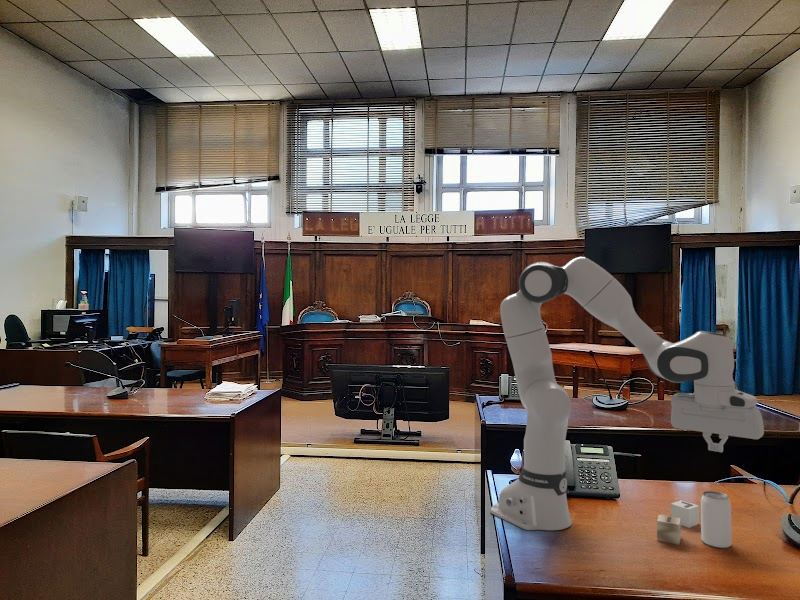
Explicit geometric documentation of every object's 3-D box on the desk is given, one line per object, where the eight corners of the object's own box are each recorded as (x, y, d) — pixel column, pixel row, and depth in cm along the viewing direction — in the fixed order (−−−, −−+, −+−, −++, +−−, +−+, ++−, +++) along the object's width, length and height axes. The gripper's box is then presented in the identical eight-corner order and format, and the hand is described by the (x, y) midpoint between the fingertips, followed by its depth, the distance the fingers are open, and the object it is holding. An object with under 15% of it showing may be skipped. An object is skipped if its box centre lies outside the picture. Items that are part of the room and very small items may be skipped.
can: (735, 550, 129) (735, 500, 129) (706, 547, 130) (706, 498, 130) (725, 538, 135) (724, 491, 135) (697, 536, 136) (697, 489, 137)
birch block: (657, 540, 134) (656, 520, 134) (659, 533, 138) (659, 513, 139) (679, 545, 132) (679, 524, 132) (681, 537, 136) (680, 517, 136)
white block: (671, 522, 146) (670, 503, 146) (681, 518, 149) (680, 499, 149) (689, 528, 142) (688, 508, 142) (699, 524, 144) (698, 505, 145)
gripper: (666, 392, 139) (667, 445, 138) (757, 401, 124) (759, 461, 123) (675, 390, 143) (676, 441, 143) (764, 398, 128) (766, 456, 128)
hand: (715, 451), depth 133 cm, fingers closed
